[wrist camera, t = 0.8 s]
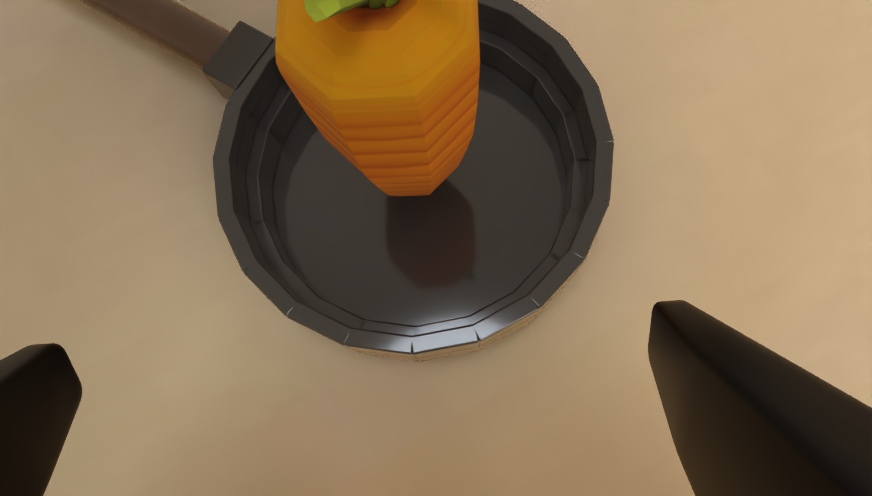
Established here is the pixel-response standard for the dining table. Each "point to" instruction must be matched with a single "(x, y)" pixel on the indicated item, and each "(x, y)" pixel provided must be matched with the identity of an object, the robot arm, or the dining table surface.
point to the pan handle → (192, 38)
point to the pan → (423, 204)
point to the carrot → (386, 83)
